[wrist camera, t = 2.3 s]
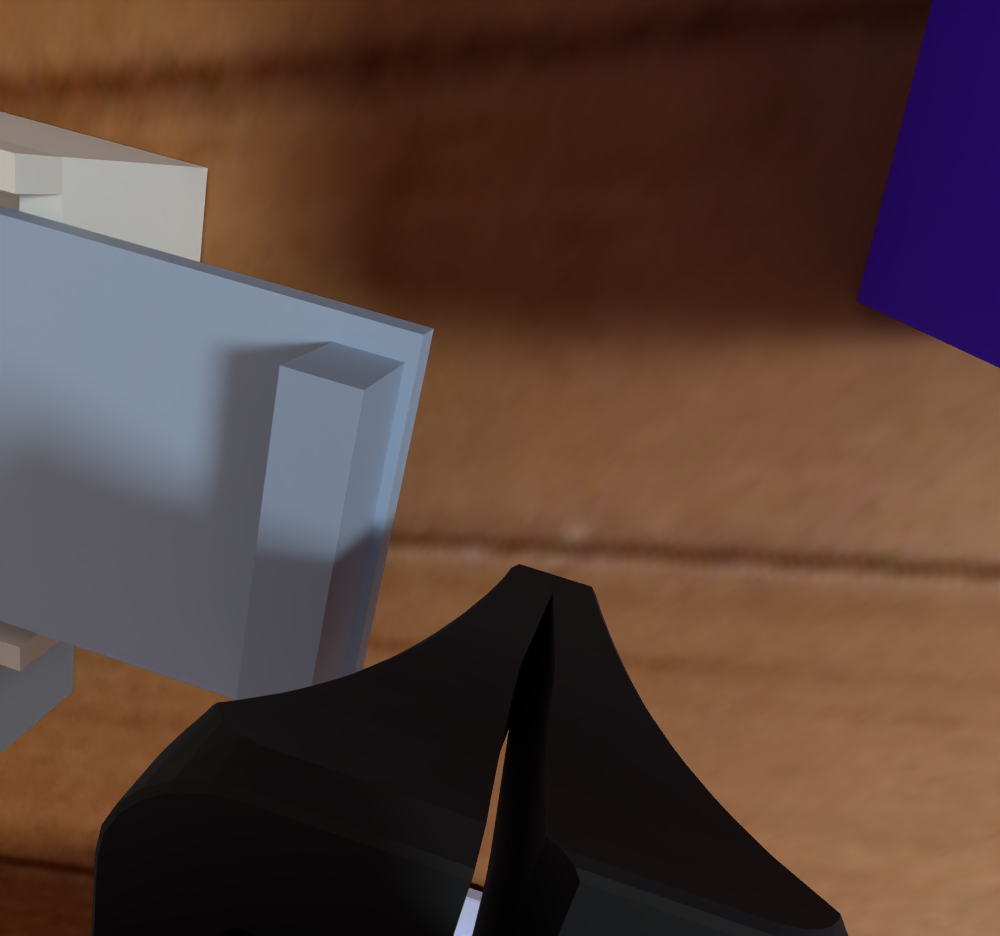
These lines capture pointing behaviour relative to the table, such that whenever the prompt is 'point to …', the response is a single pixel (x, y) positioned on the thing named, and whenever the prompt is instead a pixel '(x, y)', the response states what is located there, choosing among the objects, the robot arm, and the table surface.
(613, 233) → the table surface
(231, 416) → the lid
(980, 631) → the table surface
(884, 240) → the bracket
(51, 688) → the rubber block
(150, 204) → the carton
